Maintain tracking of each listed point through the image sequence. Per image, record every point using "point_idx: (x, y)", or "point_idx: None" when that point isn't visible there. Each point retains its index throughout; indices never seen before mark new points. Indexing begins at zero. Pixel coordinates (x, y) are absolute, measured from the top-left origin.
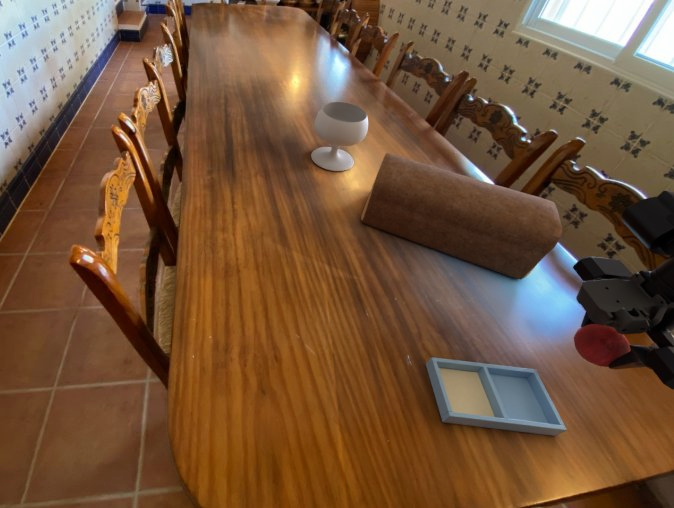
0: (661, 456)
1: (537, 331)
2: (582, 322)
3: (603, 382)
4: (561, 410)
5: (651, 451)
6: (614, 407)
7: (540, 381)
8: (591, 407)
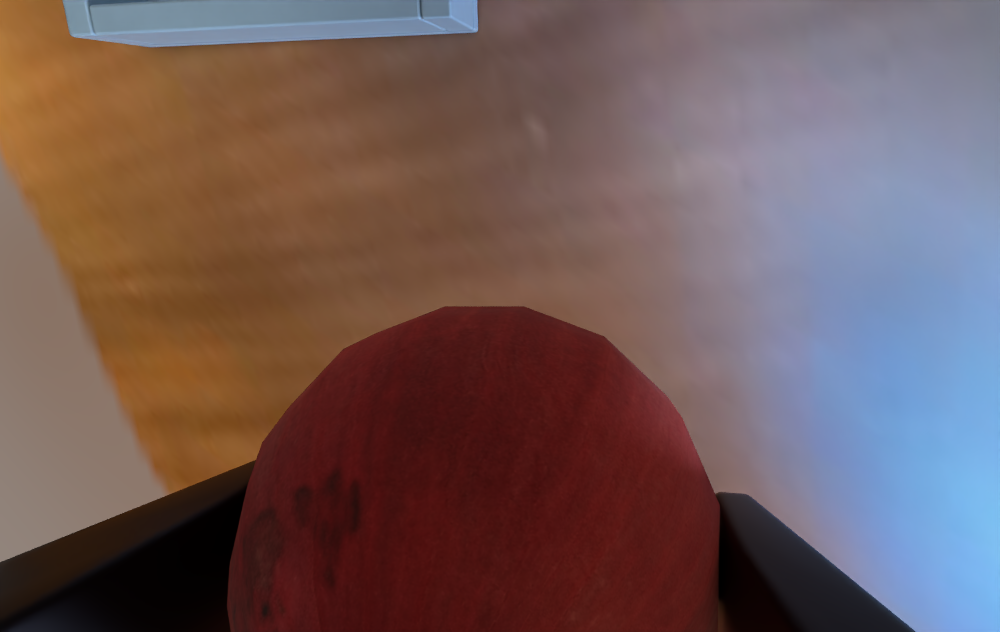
0: None
1: (849, 311)
2: (778, 525)
3: None
4: (302, 165)
5: None
6: None
7: (356, 8)
8: None
